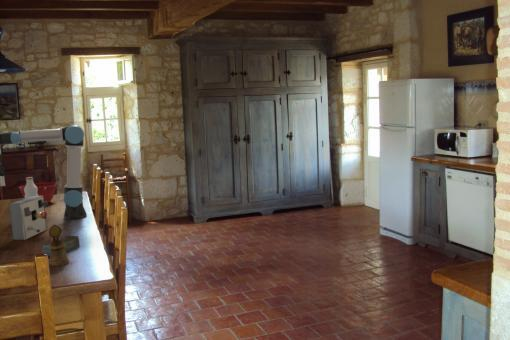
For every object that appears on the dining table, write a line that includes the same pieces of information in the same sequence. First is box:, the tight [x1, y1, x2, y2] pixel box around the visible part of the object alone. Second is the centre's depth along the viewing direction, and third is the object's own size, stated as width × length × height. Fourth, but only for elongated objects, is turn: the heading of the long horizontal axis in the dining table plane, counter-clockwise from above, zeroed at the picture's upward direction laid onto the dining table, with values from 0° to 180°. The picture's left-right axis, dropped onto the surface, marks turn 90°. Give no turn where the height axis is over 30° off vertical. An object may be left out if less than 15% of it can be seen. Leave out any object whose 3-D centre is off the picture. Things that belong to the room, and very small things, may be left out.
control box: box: [8, 196, 48, 241], centre depth 325 cm, size 10×24×22 cm, turn 171°
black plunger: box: [38, 201, 49, 208], centre depth 332 cm, size 6×4×4 cm, turn 81°
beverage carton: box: [42, 235, 81, 257], centre depth 285 cm, size 8×19×7 cm, turn 155°
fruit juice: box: [24, 176, 38, 198], centre depth 384 cm, size 9×9×28 cm
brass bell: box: [48, 224, 69, 267], centre depth 263 cm, size 9×14×18 cm, turn 23°
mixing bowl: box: [18, 182, 57, 204], centre depth 433 cm, size 28×28×15 cm
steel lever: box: [28, 226, 40, 234], centre depth 317 cm, size 7×2×2 cm, turn 82°
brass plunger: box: [31, 210, 48, 220], centre depth 324 cm, size 8×5×5 cm, turn 81°
